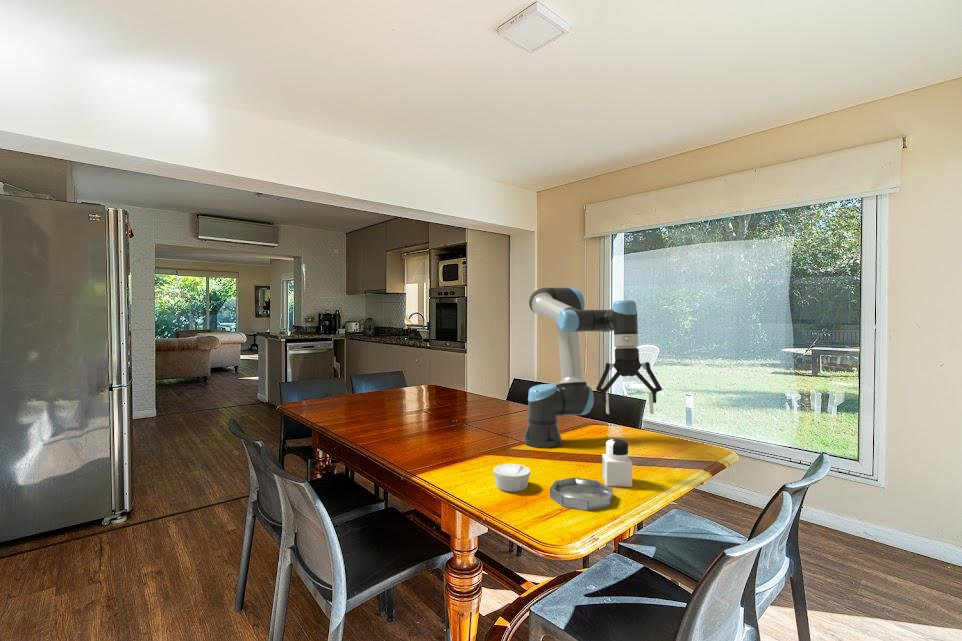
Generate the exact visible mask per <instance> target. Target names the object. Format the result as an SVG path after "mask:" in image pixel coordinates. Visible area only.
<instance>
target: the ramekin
mask: <svg viewBox="0 0 962 641" xmlns="http://www.w3.org/2000/svg"><path fill="white" fill-rule="evenodd" d="M493 474H494V481H495V486H496V487H497V488H498V490H500V491H504V492H507V493H508V492H509V493H519V492H522V491H524V490H526V489H527V488H528V485H529V480H530V475H531V469H530V468H529V467H527V466H526V465H523V464H518V463H517V464H516V463H504V464H498V465H496V466H494V467H493Z"/></svg>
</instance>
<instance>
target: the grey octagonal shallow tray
mask: <svg viewBox="0 0 962 641" xmlns="http://www.w3.org/2000/svg"><path fill="white" fill-rule="evenodd" d="M613 493H614V491H613V488H611V486H607V485H606V484H605V483H603V482H602V481H599V480H596V479H590V478H589V479H587V478H580V477H569V478H564V479H558V480H555V481H554V482H553V483H552V485H551V486H550V488H549V498H550V499H552V500H553V501H554V502H556V503H557V504H558V505H560V506H561V507H563V508H570V509H575V510H576V509H577V510H581V511H593V510H594V511H595V510H599V509H604V508H605V509H606V508H610V506H611V503H612V501H613V498H614V496H613Z"/></svg>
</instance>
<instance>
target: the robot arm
mask: <svg viewBox="0 0 962 641" xmlns="http://www.w3.org/2000/svg"><path fill="white" fill-rule="evenodd" d="M528 305H529V308H530V311H532V312H533V313H534V314H536V315H538V316H539V317H540V316H541V317H543V316H544V317H546V318H548V319H550V320H552V321H553V322H555V323H556V328H557V329H556V331H557V341H558V343H557V344H558V352H559V363H560V364H559V365H560V375H561V376H560V378H561V379H560V381H559V382H558V383H557V385H558V386H557V385H556V384H555V383H554V384H553V383H544V384H543V383H542V384H536V385H534V386H531V387H530V388H529V389H528V397H527V401H528V405H527V406H528V410H527V411H528V415H527V416H528V423H527V427H526V431H525V433H524V436H523V441H524V442H525V443H526V444H525V443H524V444H525V445H527V444H528V445H527V446H529V445H530V446H529V447H533V446H534V448H539V447H541V449H543V448H544V449H546V448H547V449H548V448H549V447H551V448H555V447H556V446H557V447H559V446H561V445H562V444H563V443H562V442H563V440H562V435H561V432H560V430H559V425H558V417H569V416H573V417H574V416H578V417H579V416H583V415H587V414H589V413H590V412H591V411H592V408H593V406H594V402H595V400H594V399H595V397H594V392H593V388H592V387H591V386H589V385H588V382H587V381H586V380H585V379H584V378H583V372H582V371H583V369H582V361H581V360H582V359H581V350H580V340H579V339H580V338H579V332H602V333H610V332H613V340H614V341H613V343H614V344H613V345H614V346H613V347H615V348H614V363H609V362H606V363H604V370H603V373H602V374H601V377H600V378H599V379H600V380H599V381H598V384H597V386H596V388H595V391H596V392H598V393H601V399H602V400H601V401H602V403H603V404H605V413H606V414H607V415H610V402H609V393H608V392H607V391H608V390H609V389H610V388H611V387H612V386H613V385H614V383H615V382H616V381H617V379H618V378H619V377H620V376H621V377H635V376H636V377H637V378H638V379H639V380H640V381H641V382H642V383H643V385H645V386H646V388H647V389H648V390H649V391H650V392H648V404H649V414H650V415H654V412H655V411H654V404H656V403H657V393H658V392H661V391H663V388H662V386H661V384H660V382H659V381H658V380H657V378H656V376H655V374H654V372H653V371H652V369H651V368H652V367H651V363H650V362H649V361H646V362H641V361H640V349H639V348H637V347H639V335H638V334H639V331H638V328H639V327H638V326H639V325H638V310H637V303H636V301H635V300H631V299H630V300H628V299H626V300H625V299H624V300H616V301H613V303H612V308H611V309H585V298H584V296H583V293H582V292H581V290H580V289H578V288H575V287H568V286H567V287H540V288H538V289H536V290H535V291H534V292H532V293H531V295H530V296H529V299H528ZM612 368H614V369H615V370H616V371H615V373H614V375H613V376H612V377H611V378H610V379H609V381H608V382H607V384H605V385H604V383H605V380H606V378H607V376H608V375H609V372H610V370H612ZM641 368H642V369H643V370H645V371H646V373H647V375H648V377H650V378H649V379H651V381H652V383H653V385H654V386H653V385H652V384H650V382H649V381H648V380H647V379H646V378H645V377H644V376H643V375H642V373H640V372H639V371H640V369H641ZM603 385H604V387H603ZM549 449H550V448H549Z"/></svg>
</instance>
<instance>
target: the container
mask: <svg viewBox="0 0 962 641" xmlns="http://www.w3.org/2000/svg"><path fill="white" fill-rule="evenodd" d="M601 458H602V459H601V461H602V465H601V466H602V468H601V469H602V470H601V471H602V475H601V476H602V479H603V481H604V484H605V485H607V486H608V487H620V488H621V487H622V488H623V487H624V488H632V487H633V461H632V459H630V457H629V443H628V442H627V441H625V440H624V439H619V438H618V439H617V438H612V439H608V440H607V441H606V442H605V453H602V456H601Z"/></svg>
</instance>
